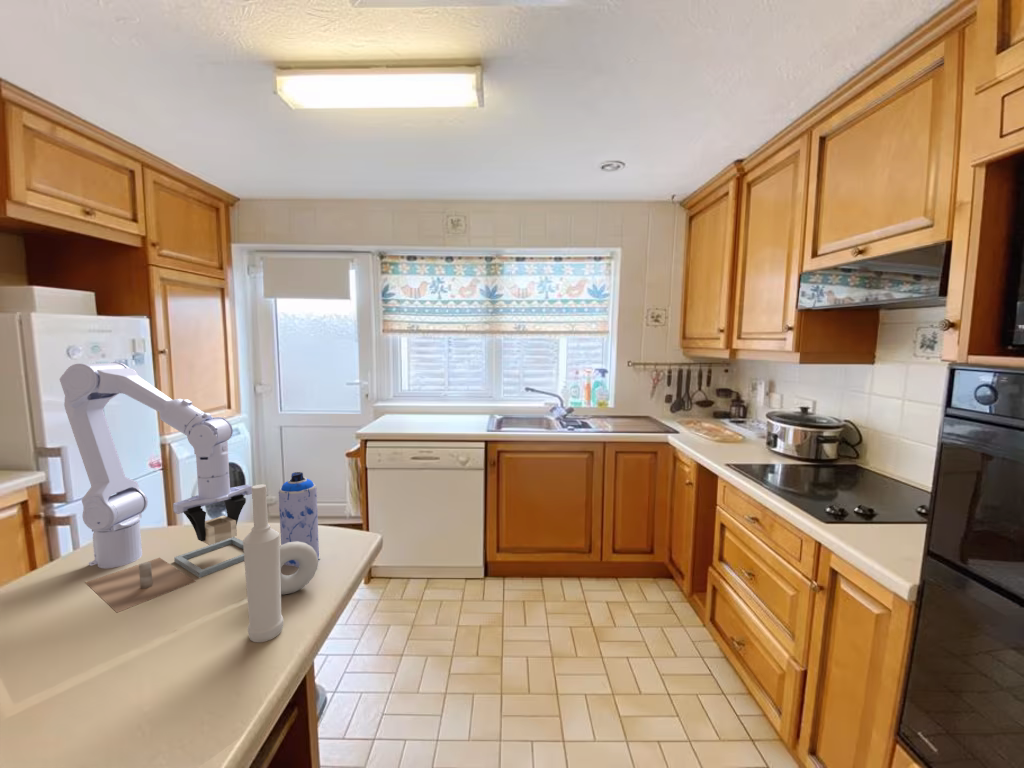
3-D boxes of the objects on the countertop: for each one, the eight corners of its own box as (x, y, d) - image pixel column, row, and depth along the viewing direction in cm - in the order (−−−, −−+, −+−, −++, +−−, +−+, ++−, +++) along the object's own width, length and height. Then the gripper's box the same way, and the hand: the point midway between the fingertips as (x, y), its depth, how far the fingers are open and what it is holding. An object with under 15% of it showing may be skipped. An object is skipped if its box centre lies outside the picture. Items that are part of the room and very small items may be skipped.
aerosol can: (327, 555, 98) (324, 469, 96) (302, 572, 91) (298, 480, 89) (299, 551, 100) (295, 467, 99) (272, 567, 93) (267, 477, 91)
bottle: (246, 647, 68) (238, 493, 66) (249, 628, 73) (241, 484, 71) (283, 637, 70) (276, 488, 68) (283, 619, 75) (277, 479, 73)
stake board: (85, 587, 85) (83, 560, 85) (159, 561, 95) (158, 537, 95) (117, 617, 75) (114, 588, 75) (196, 586, 85) (194, 559, 85)
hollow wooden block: (197, 539, 94) (196, 523, 93) (225, 530, 98) (224, 515, 98) (209, 545, 91) (208, 529, 91) (236, 535, 95) (236, 520, 95)
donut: (263, 605, 79) (260, 553, 78) (260, 597, 82) (258, 546, 81) (321, 587, 85) (319, 539, 84) (316, 580, 88) (315, 532, 87)
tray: (174, 566, 93) (174, 557, 93) (234, 544, 103) (234, 536, 103) (199, 582, 87) (199, 572, 87) (260, 558, 97) (260, 549, 97)
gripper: (182, 486, 85) (186, 552, 86) (257, 469, 97) (260, 527, 99) (167, 480, 89) (171, 543, 90) (241, 464, 101) (245, 520, 102)
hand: (217, 534), depth 95 cm, fingers closed on hollow wooden block, 5 cm apart
